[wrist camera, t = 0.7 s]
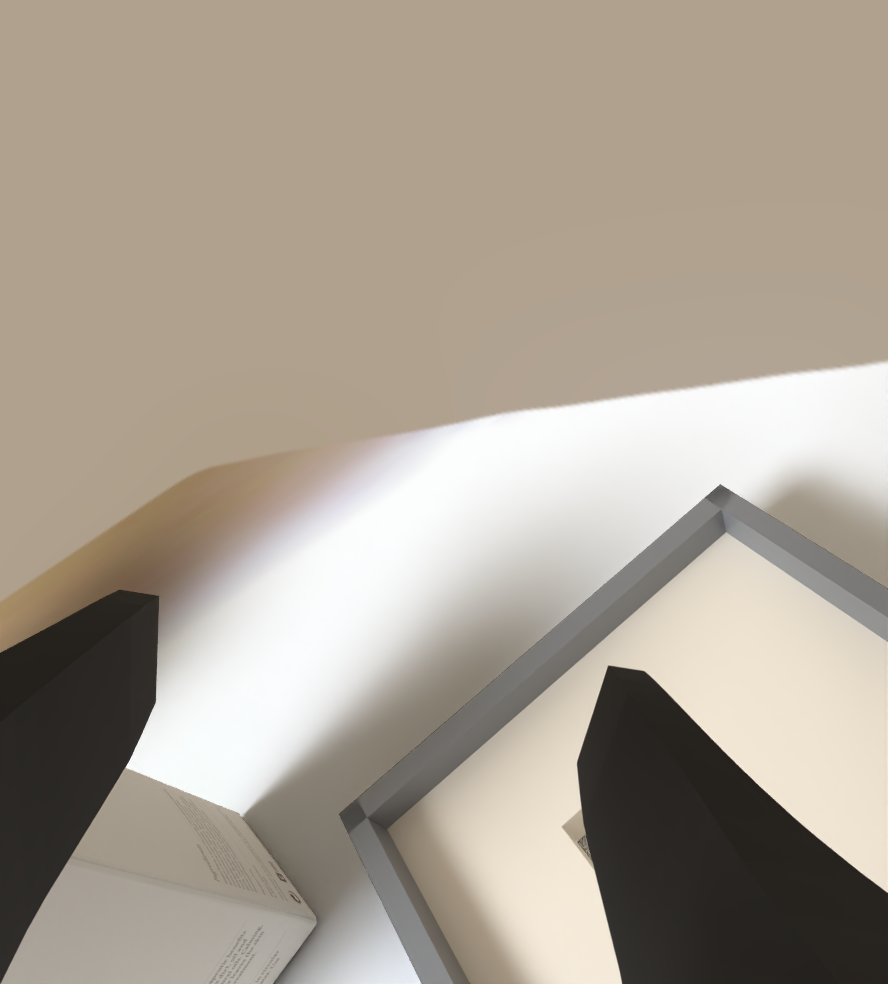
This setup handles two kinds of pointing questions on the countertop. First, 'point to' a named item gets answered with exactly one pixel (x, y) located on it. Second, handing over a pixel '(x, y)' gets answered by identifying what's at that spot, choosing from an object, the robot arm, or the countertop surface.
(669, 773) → the robot arm
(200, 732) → the countertop surface
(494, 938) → the tray
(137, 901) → the skincare box
